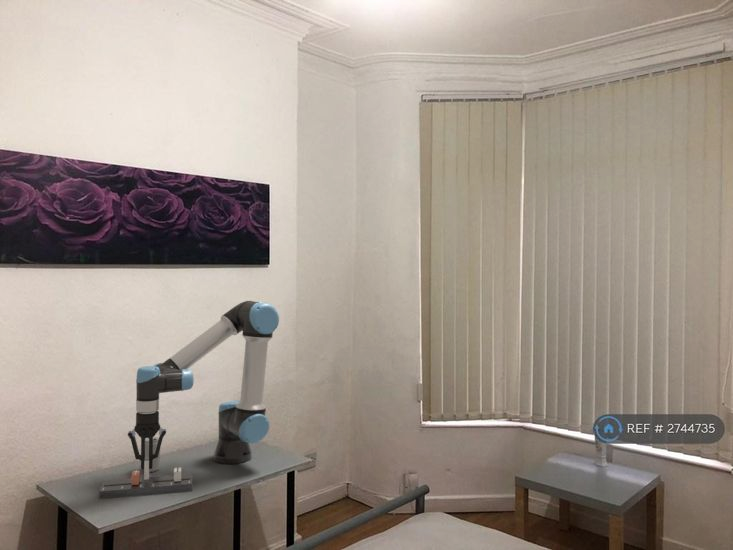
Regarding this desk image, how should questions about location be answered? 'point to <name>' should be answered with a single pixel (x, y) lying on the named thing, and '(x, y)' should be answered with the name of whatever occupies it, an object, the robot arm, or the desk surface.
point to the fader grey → (177, 474)
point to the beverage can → (156, 460)
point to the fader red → (135, 477)
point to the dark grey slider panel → (145, 486)
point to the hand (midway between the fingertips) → (146, 478)
